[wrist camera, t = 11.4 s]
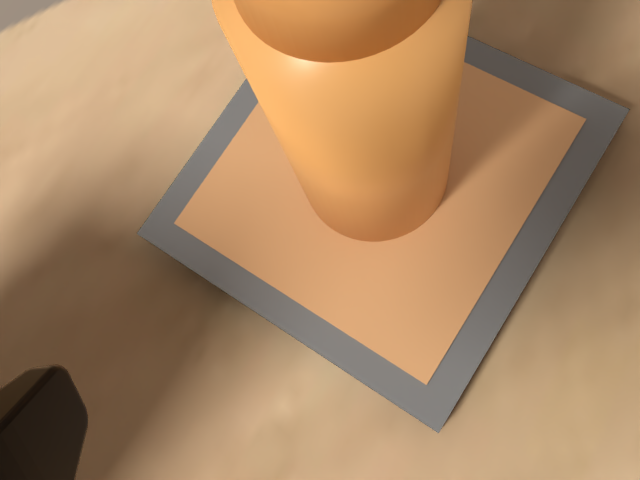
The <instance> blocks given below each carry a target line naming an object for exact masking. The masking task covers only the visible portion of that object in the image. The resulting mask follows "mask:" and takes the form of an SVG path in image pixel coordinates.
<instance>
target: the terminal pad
mask: <svg viewBox="0 0 640 480" xmlns="http://www.w3.org/2000/svg"><path fill="white" fill-rule="evenodd" d="M629 110H630V109H628V108H626V107H623V106H621V105H619V104H617V103H615V102H612V101H610V100H608V99H606V98H604V97H601V96H599V95H597V94H595V93H593V92H590V91H588V90H586V89H584V88H582V87H579V86H577V85H575V84H573V83H571V82H568V81H566V80H564V79H562V78H559V77H557V76H555V75H553V74H551V73H548V72H546V71H544V70H542V69H540V68H537V67H535V66H533V65H531V64H529V63H526V62H524V61H522V60H520V59H518V58H515V57H513V56H511V55H509V54H507V53H504V52H502V51H500V50H498V49H495V48H493V47H491V46H489V45H487V44H484V43H482V42H480V41H478V40H476V39H473V38H471V37H469V36H467V44H466V51H465V58H464V65H463V72H462V80H461V87H460V94H459V101H458V108H457V116H456V123H455V130H454V137H453V144H452V152H451V159H450V166H449V173H448V180H447V186H446V190H445V193H444V196H443V198H442V200H441V202H440V204H439V206H438V207H437V209H436V211H435V212H434V213H433V214H432V216H431V217H430V218H429V219H428V220H427V221H426V222H425V223H424V224H422V225H421V226H420V227H418V228H417V229H416V230H414V231H412V232H410V233H408V234H406V235H404V236H401V237H399V238H396V239H392V240H387V241H380V242H368V241H360V240H356V239H352V238H349V237H346V236H344V235H341V234H340V233H338V232H336V231H334V230H333V229H331V228H330V227H329V226H327V225H326V224H325V223H324V222H323V221H322V220H321V219H320V218H319V217H318V215H317V214H316V213H315V211H314V210H313V208H312V206H311V204H310V202H309V200H308V198H307V196H306V194H305V192H304V191H303V189H302V187H301V185H300V183H299V181H298V179H297V177H296V175H295V173H294V171H293V169H292V167H291V165H290V163H289V161H288V159H287V157H286V155H285V153H284V151H283V149H282V147H281V145H280V143H279V141H278V139H277V137H276V135H275V133H274V131H273V129H272V127H271V125H270V123H269V121H268V119H267V117H266V115H265V113H264V111H263V109H262V107H261V105H260V103H259V101H258V99H257V97H256V95H255V93H254V92H253V90H252V88H251V86H250V84H249V82H248V80H247V78H246V80H245V81H244V83H243V84H242V85H241V87H240V88H239V90H238V91H237V92H236V94H235V95H234V97H233V98H232V100H231V101H230V102H229V104H228V105H227V107H226V108H225V109H224V111H223V112H222V114H221V115H220V117H219V118H218V119H217V121H216V122H215V124H214V125H213V126H212V128H211V129H210V131H209V132H208V134H207V135H206V136H205V138H204V139H203V141H202V142H201V143H200V145H199V146H198V148H197V149H196V151H195V152H194V153H193V155H192V156H191V158H190V159H189V160H188V162H187V163H186V165H185V166H184V167H183V169H182V170H181V172H180V173H179V175H178V176H177V177H176V179H175V180H174V182H173V183H172V184H171V186H170V187H169V189H168V190H167V192H166V193H165V194H164V196H163V197H162V199H161V200H160V201H159V203H158V204H157V206H156V207H155V209H154V210H153V211H152V213H151V214H150V216H149V217H148V218H147V220H146V221H145V223H144V224H143V226H142V227H141V228H140V230H139V231H138V233H137V234H138V235H139V236H141V237H143V238H144V239H146V240H147V241H149V242H150V243H152V244H153V245H155V246H156V247H158V248H159V249H161V250H162V251H164V252H165V253H167V254H168V255H170V256H171V257H173V258H174V259H176V260H177V261H179V262H180V263H182V264H183V265H185V266H186V267H188V268H189V269H191V270H192V271H194V272H195V273H197V274H198V275H200V276H202V277H203V278H205V279H206V280H208V281H209V282H211V283H212V284H214V285H215V286H217V287H218V288H220V289H221V290H223V291H224V292H226V293H227V294H229V295H230V296H232V297H233V298H235V299H236V300H238V301H239V302H241V303H242V304H244V305H245V306H247V307H248V308H250V309H251V310H253V311H254V312H256V313H258V314H259V315H261V316H262V317H264V318H265V319H267V320H268V321H270V322H271V323H273V324H274V325H276V326H277V327H279V328H280V329H282V330H283V331H285V332H286V333H288V334H289V335H291V336H292V337H294V338H295V339H297V340H298V341H300V342H301V343H303V344H304V345H306V346H307V347H309V348H310V349H312V350H313V351H315V352H317V353H318V354H320V355H321V356H323V357H324V358H326V359H327V360H329V361H330V362H332V363H333V364H335V365H336V366H338V367H339V368H341V369H342V370H344V371H345V372H347V373H348V374H350V375H351V376H353V377H354V378H356V379H357V380H359V381H360V382H362V383H363V384H365V385H366V386H368V387H369V388H371V389H373V390H374V391H376V392H377V393H379V394H380V395H382V396H383V397H385V398H386V399H388V400H389V401H391V402H392V403H394V404H395V405H397V406H398V407H400V408H401V409H403V410H404V411H406V412H407V413H409V414H410V415H412V416H413V417H415V418H416V419H418V420H419V421H421V422H422V423H424V424H425V425H427V426H429V427H430V428H432V429H433V430H435V431H436V432H438V433H439V432H440V430H441V428H442V427H443V425H444V423H445V422H446V420H447V418H448V416H449V415H450V413H451V411H452V410H453V408H454V406H455V405H456V403H457V401H458V400H459V398H460V396H461V394H462V393H463V391H464V389H465V388H466V386H467V384H468V383H469V381H470V379H471V377H472V376H473V374H474V372H475V371H476V369H477V367H478V366H479V364H480V362H481V361H482V359H483V357H484V355H485V354H486V352H487V350H488V349H489V347H490V345H491V344H492V342H493V340H494V339H495V337H496V335H497V333H498V332H499V330H500V328H501V327H502V325H503V323H504V322H505V320H506V318H507V316H508V315H509V313H510V311H511V310H512V308H513V306H514V305H515V303H516V301H517V300H518V298H519V296H520V294H521V293H522V291H523V289H524V288H525V286H526V284H527V283H528V281H529V279H530V277H531V276H532V274H533V272H534V271H535V269H536V267H537V266H538V264H539V262H540V261H541V259H542V257H543V255H544V254H545V252H546V250H547V249H548V247H549V245H550V244H551V242H552V240H553V239H554V237H555V235H556V233H557V232H558V230H559V228H560V227H561V225H562V223H563V222H564V220H565V218H566V216H567V215H568V213H569V211H570V210H571V208H572V206H573V205H574V203H575V201H576V200H577V198H578V196H579V194H580V193H581V191H582V189H583V188H584V186H585V184H586V183H587V181H588V179H589V178H590V176H591V174H592V172H593V171H594V169H595V167H596V166H597V164H598V162H599V161H600V159H601V157H602V155H603V154H604V152H605V150H606V149H607V147H608V145H609V144H610V142H611V140H612V139H613V137H614V135H615V133H616V132H617V130H618V128H619V127H620V125H621V123H622V122H623V120H624V118H625V116H626V115H627V113H628V111H629Z"/></svg>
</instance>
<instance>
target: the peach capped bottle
mask: <svg viewBox="0 0 640 480" xmlns="http://www.w3.org/2000/svg"><path fill="white" fill-rule="evenodd" d="M472 1H473V0H212V5H213V9H214V12H215V14H216V17H217V20H218V22H219V24H220V26H221V28H222V30H223V32H224V34H225V36H226V38H227V40H228V42H229V44H230V46H231V48H232V50H233V52H234V54H235V56H236V58H237V60H238V62H239V64H240V66H241V68H242V70H243V72H244V74H245V76H246V78H247V80H248V82H249V84H250V86H251V88H252V90H253V92H254V93H255V95H256V97H257V99H258V101H259V103H260V105H261V107H262V109H263V111H264V113H265V115H266V117H267V119H268V121H269V123H270V125H271V127H272V129H273V131H274V133H275V135H276V137H277V139H278V141H279V143H280V145H281V147H282V149H283V151H284V153H285V155H286V157H287V159H288V161H289V163H290V165H291V167H292V169H293V171H294V173H295V175H296V177H297V179H298V181H299V183H300V185H301V187H302V189H303V191H304V192H305V194H306V196H307V198H308V200H309V202H310V204H311V206H312V208H313V210H314V211H315V213H316V214H317V215H318V217H319V218H320V219H321V220H322V221H323V222H324V223H325V224H326V225H327V226H329V227H330V228H331V229H333V230H334V231H336V232H338V233H340V234H341V235H344V236H346V237H349V238H352V239H356V240H360V241H368V242H380V241H387V240H392V239H396V238H399V237H401V236H404V235H406V234H408V233H410V232H412V231H414V230H416V229H417V228H418V227H420V226H421V225H422V224H424V223H425V222H426V221H427V220H428V219H429V218H430V217H431V216H432V214H433V213H434V212H435V211H436V209H437V207H438V206H439V204H440V202H441V200H442V198H443V196H444V193H445V190H446V186H447V180H448V173H449V166H450V159H451V152H452V144H453V137H454V130H455V123H456V116H457V108H458V101H459V94H460V87H461V80H462V72H463V65H464V58H465V51H466V44H467V36H468V29H469V22H470V15H471V8H472Z"/></svg>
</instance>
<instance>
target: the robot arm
mask: <svg viewBox="0 0 640 480" xmlns="http://www.w3.org/2000/svg"><path fill="white" fill-rule="evenodd" d="M87 426H88V414H87V410H86V407H85V405H84V403H83V401H82V399H81V397H80V395H79V393H78V391H77V389H76V387H75V385H74V383H73V381H72V379H71V377H70V375H69V373H68V371H67V370H66V369H65V368H64V367H63V366H60V365H49V366H41V367H34V368H31V369H29V370H27V371H25V372H24V373H22V374H21V375H20V376H18V377H17V378H15V379H14V380H13V381H11V382H10V383H8V384H7V385H5V386H4V387H3V388H1V389H0V480H75V477H76V473H77V469H78V465H79V461H80V456H81V452H82V448H83V444H84V439H85V435H86V431H87Z"/></svg>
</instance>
